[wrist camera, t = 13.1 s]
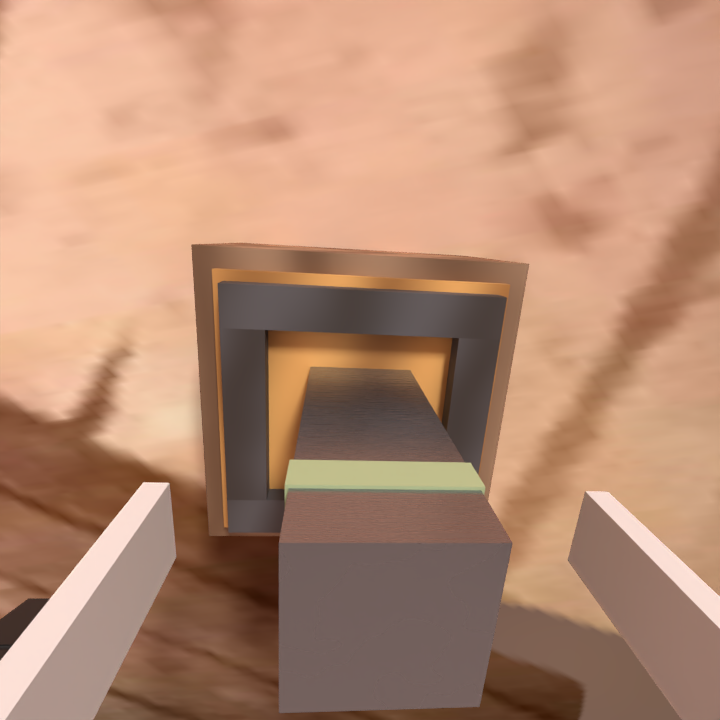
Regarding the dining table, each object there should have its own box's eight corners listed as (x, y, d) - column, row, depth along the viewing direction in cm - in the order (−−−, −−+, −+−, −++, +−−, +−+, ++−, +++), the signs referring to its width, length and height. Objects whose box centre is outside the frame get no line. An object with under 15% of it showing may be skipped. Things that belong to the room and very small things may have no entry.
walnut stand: (464, 256, 29) (544, 266, 18) (439, 451, 34) (491, 555, 23) (240, 242, 28) (179, 245, 17) (246, 448, 32) (200, 555, 21)
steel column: (412, 368, 20) (517, 538, 9) (403, 459, 22) (482, 708, 10) (308, 364, 20) (273, 539, 8) (306, 457, 21) (274, 716, 10)
